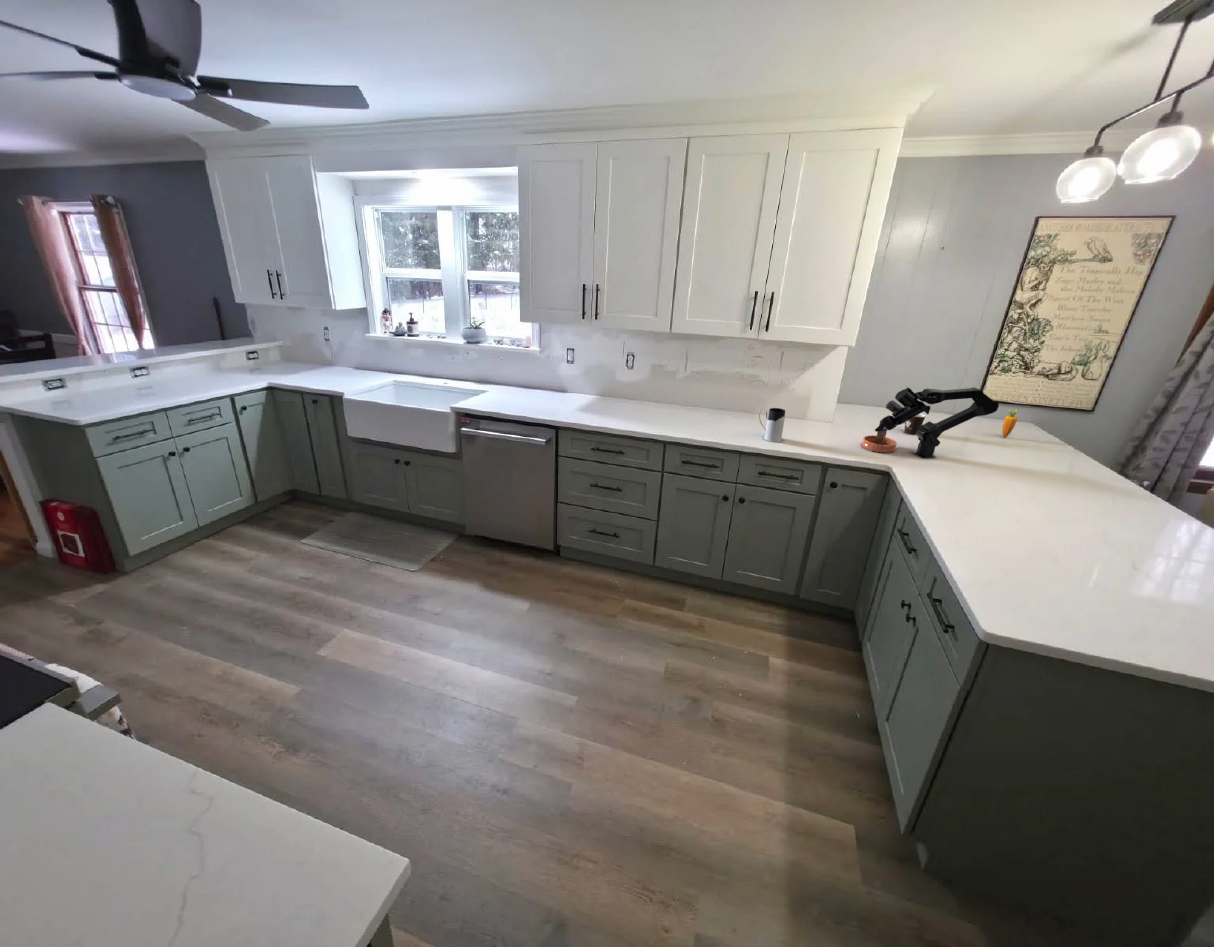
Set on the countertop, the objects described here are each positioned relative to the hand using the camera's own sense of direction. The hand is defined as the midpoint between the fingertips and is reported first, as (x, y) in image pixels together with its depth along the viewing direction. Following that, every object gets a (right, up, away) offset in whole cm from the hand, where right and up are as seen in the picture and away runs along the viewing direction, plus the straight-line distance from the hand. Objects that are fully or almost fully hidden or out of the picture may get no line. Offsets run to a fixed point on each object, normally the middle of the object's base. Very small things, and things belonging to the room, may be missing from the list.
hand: (879, 428), depth 235 cm
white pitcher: (-48, -3, +15) cm, 50 cm away
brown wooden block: (+1, -9, +3) cm, 9 cm away
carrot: (+75, -3, +19) cm, 78 cm away
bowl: (+1, -9, +3) cm, 10 cm away
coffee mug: (+30, 0, +26) cm, 40 cm away
